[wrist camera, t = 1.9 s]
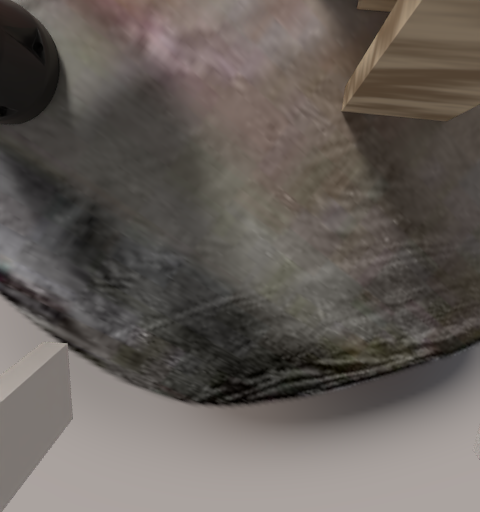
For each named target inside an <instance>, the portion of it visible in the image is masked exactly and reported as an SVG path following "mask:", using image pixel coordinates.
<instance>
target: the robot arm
mask: <svg viewBox="0 0 480 512" xmlns="http://www.w3.org/2000/svg"><path fill="white" fill-rule="evenodd" d="M58 76H59V62H58V55H57V51H56V48H55V45H54V42H53V40H52V38H51V36H50V34H49V33H48V31H47V30H46V28H45V27H44V26H43V25H42V24H41V22H40V21H39V20H37V19H36V18H35V17H34V16H33V15H32V14H30V13H29V12H28V11H27V10H25V9H24V8H23V7H21V6H20V5H18V4H17V3H15V2H13V1H11V0H0V123H1V124H19V123H23V122H26V121H28V120H30V119H32V118H34V117H35V116H37V115H38V114H39V113H41V112H42V111H43V110H44V108H45V107H46V106H47V105H48V103H49V102H50V100H51V98H52V97H53V94H54V92H55V89H56V86H57V82H58ZM72 419H73V414H72V401H71V388H70V372H69V359H68V345H67V343H53V342H43V343H41V344H40V345H39V346H38V347H36V348H35V349H34V350H32V351H31V352H30V353H29V354H27V355H26V356H25V357H24V358H22V359H21V360H20V361H18V362H17V363H16V364H14V365H13V366H12V367H11V368H9V369H8V370H7V371H5V372H4V373H3V374H1V375H0V512H2V511H3V510H4V508H5V507H6V506H7V504H8V503H9V502H10V500H11V499H12V498H13V496H14V495H15V494H16V492H17V491H18V490H19V489H20V487H21V486H22V485H23V483H24V482H25V481H26V479H27V478H28V477H29V475H30V474H31V473H32V471H33V470H34V469H35V468H36V466H37V465H38V464H39V462H40V461H41V460H42V458H43V457H44V455H45V454H46V453H47V452H48V450H49V449H50V448H51V447H52V445H53V444H54V443H55V441H56V440H57V439H58V437H59V436H60V435H61V433H62V432H63V431H64V429H65V428H66V427H67V425H68V424H69V423H70V421H71V420H72ZM473 452H474V453H475V454H476V456H477V457H478V458H479V459H480V426H479V430H478V434H477V437H476V441H475V445H474V449H473Z"/></svg>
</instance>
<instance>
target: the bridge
mask: <svg viewBox="0 0 480 512" xmlns="http://www.w3.org/2000/svg"><path fill="white" fill-rule="evenodd" d="M357 9H360V10H374V11H387V12H390V14H389V16H388V17H387V19H386V21H385V22H384V24H383V26H382V27H381V29H380V30H379V32H378V34H377V35H376V37H375V39H374V40H373V42H372V44H371V45H370V47H369V49H368V50H367V52H366V53H365V55H364V57H363V58H362V60H361V62H360V63H359V65H358V67H357V68H356V70H355V71H354V73H353V75H352V76H351V78H350V80H349V81H348V83H347V85H346V86H345V92H344V98H343V105H342V111H343V112H353V113H364V114H374V115H385V116H396V117H406V118H417V119H427V120H438V121H448V120H450V119H452V118H454V117H456V116H458V115H460V114H462V113H464V112H466V111H468V110H470V109H472V108H474V107H476V106H478V105H480V0H358V5H357Z"/></svg>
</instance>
